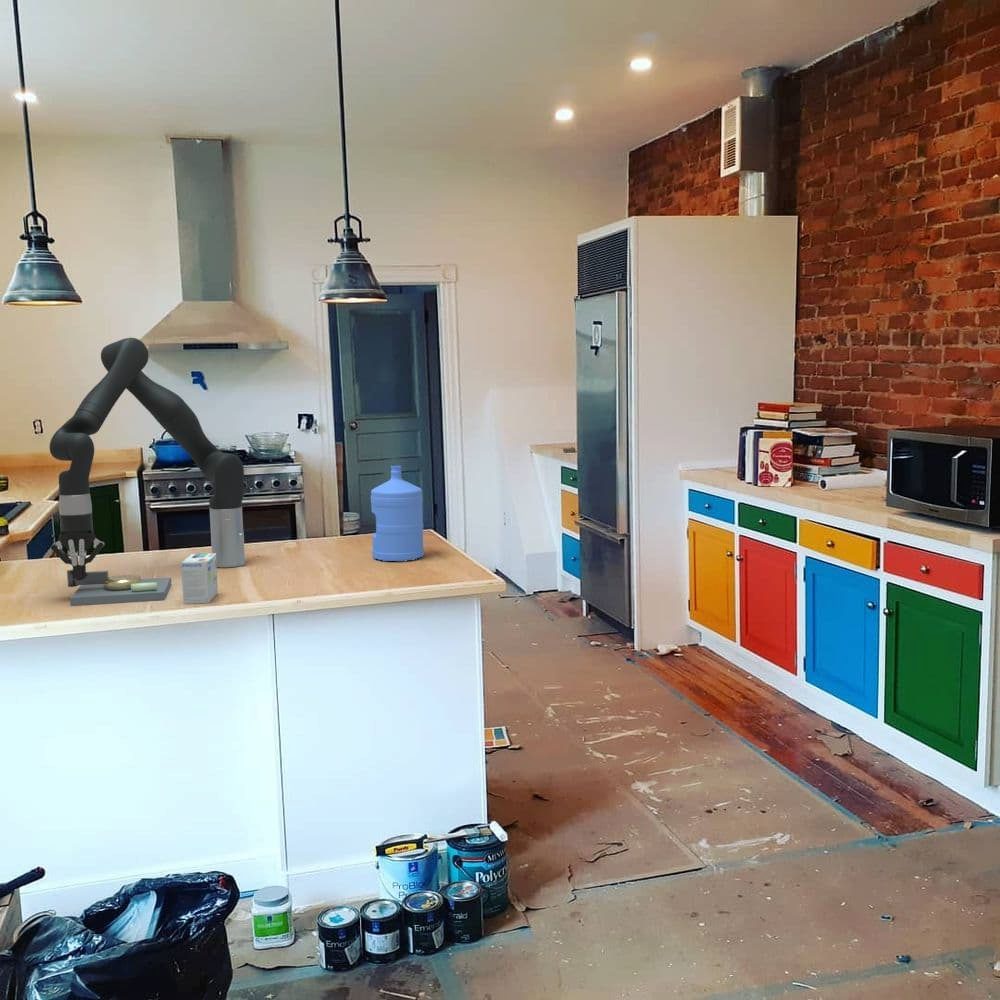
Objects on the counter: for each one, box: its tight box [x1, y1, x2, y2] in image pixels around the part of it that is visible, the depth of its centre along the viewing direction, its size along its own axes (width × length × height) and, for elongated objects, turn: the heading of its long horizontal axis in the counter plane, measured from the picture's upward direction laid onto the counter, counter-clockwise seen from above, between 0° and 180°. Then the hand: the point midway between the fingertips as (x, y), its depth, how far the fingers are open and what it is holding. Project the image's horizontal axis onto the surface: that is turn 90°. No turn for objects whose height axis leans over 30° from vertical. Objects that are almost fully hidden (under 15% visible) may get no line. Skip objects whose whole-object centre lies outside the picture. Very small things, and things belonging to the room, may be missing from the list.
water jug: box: [370, 464, 425, 562], centre depth 293 cm, size 16×16×28 cm
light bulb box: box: [180, 552, 219, 605], centre depth 244 cm, size 11×7×11 cm, turn 5°
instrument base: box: [69, 576, 172, 607], centre depth 250 cm, size 22×18×4 cm
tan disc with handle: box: [66, 569, 142, 590], centre depth 248 cm, size 18×9×5 cm, turn 101°
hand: (79, 579), depth 245 cm, fingers closed
